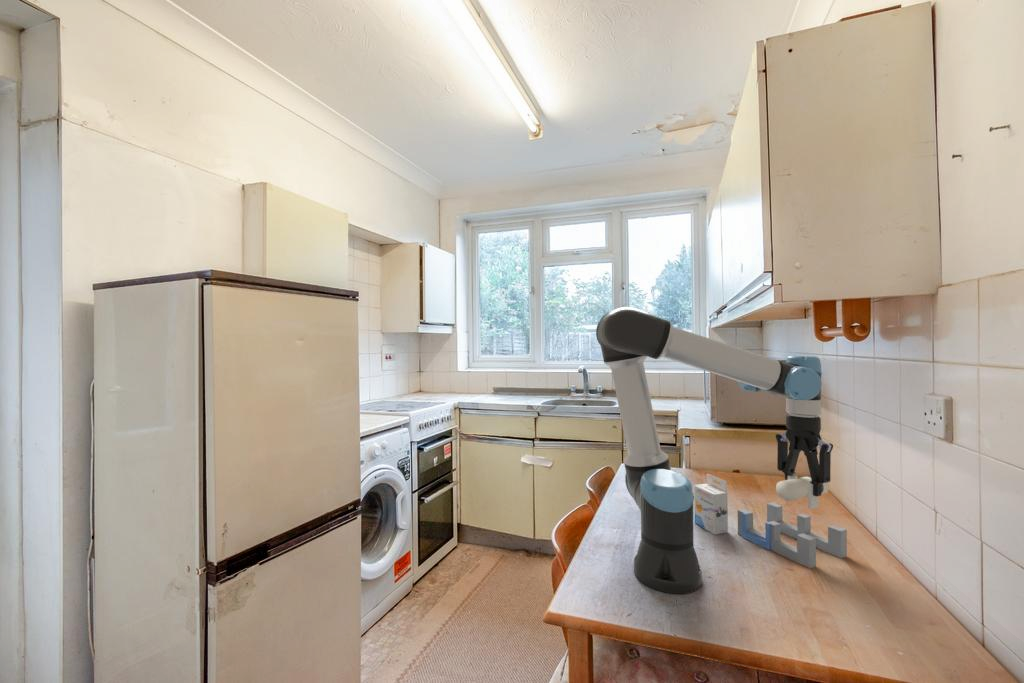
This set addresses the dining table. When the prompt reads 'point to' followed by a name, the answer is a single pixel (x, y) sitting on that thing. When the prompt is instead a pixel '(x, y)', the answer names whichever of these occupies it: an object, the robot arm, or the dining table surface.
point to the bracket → (802, 533)
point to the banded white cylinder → (796, 488)
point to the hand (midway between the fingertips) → (802, 503)
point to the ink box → (712, 505)
